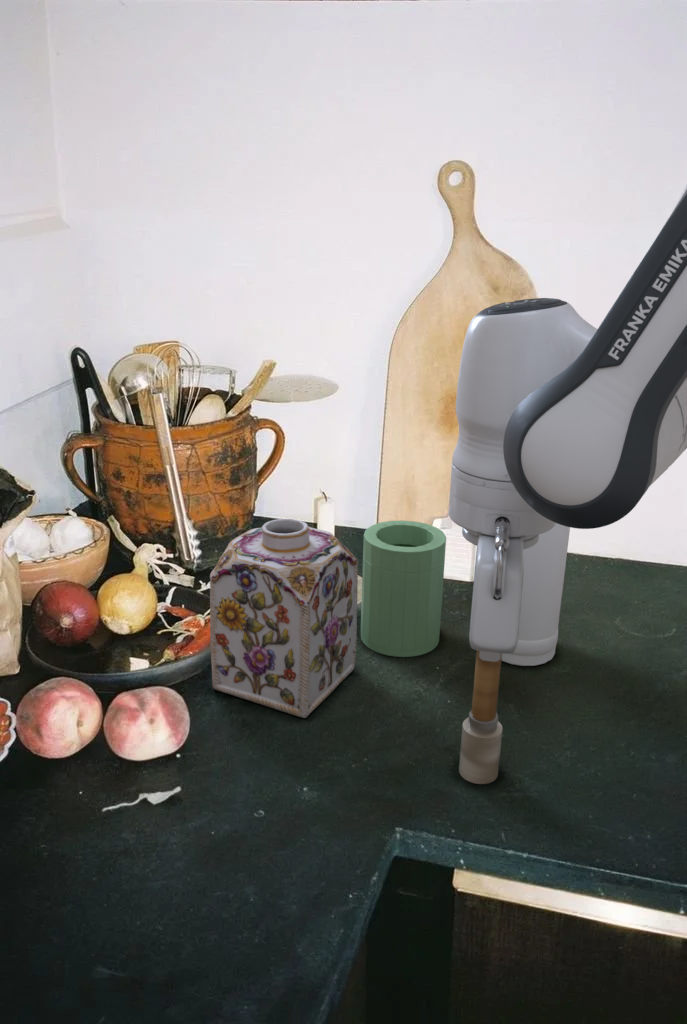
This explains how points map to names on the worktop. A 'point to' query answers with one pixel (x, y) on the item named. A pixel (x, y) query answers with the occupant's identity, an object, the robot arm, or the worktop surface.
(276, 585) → the decorative jar
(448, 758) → the worktop surface
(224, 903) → the worktop surface
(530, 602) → the bottle
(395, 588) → the green pen holder
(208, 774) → the worktop surface
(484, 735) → the brush
